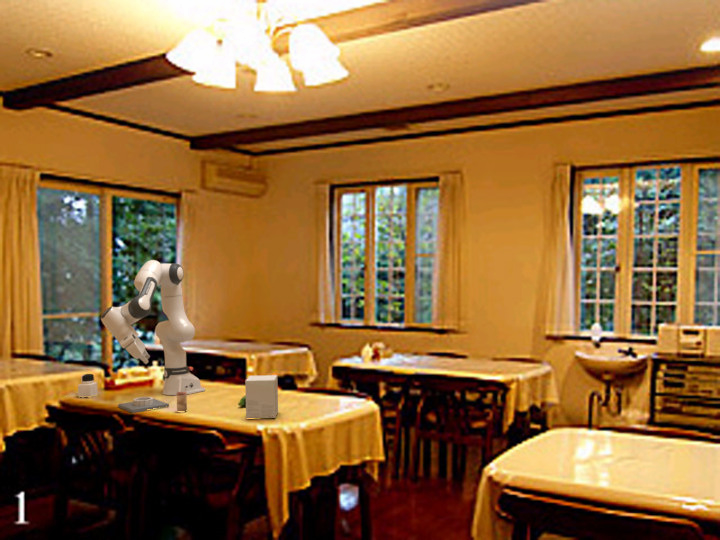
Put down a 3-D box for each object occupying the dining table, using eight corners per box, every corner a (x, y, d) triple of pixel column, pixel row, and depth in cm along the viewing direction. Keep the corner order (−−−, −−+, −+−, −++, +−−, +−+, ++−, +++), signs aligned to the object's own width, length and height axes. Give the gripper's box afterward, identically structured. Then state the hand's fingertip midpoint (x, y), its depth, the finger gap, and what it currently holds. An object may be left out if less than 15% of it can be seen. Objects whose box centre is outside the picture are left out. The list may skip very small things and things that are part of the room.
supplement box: (278, 412, 294) (278, 374, 294) (275, 419, 281) (274, 379, 281) (250, 413, 294) (249, 375, 294) (245, 420, 281) (244, 380, 281)
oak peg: (184, 410, 302) (183, 391, 302) (188, 411, 299) (188, 392, 299) (175, 411, 300) (175, 392, 299) (179, 413, 296) (179, 393, 296)
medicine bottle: (97, 395, 341) (97, 373, 341) (90, 398, 334) (90, 375, 334) (85, 395, 342) (84, 373, 341) (77, 398, 334) (77, 375, 334)
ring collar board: (153, 401, 323) (153, 393, 323) (169, 406, 310) (168, 398, 310) (118, 407, 311) (117, 398, 311) (132, 413, 298) (132, 404, 298)
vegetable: (268, 384, 320) (241, 391, 303) (273, 397, 319) (246, 405, 302) (258, 389, 324) (231, 397, 307) (264, 402, 322) (236, 411, 305)
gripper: (125, 337, 303) (144, 359, 306) (120, 346, 284) (140, 369, 287) (136, 329, 304) (154, 351, 307) (132, 337, 284) (152, 361, 288)
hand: (148, 360), depth 297 cm, fingers open, 8 cm apart
